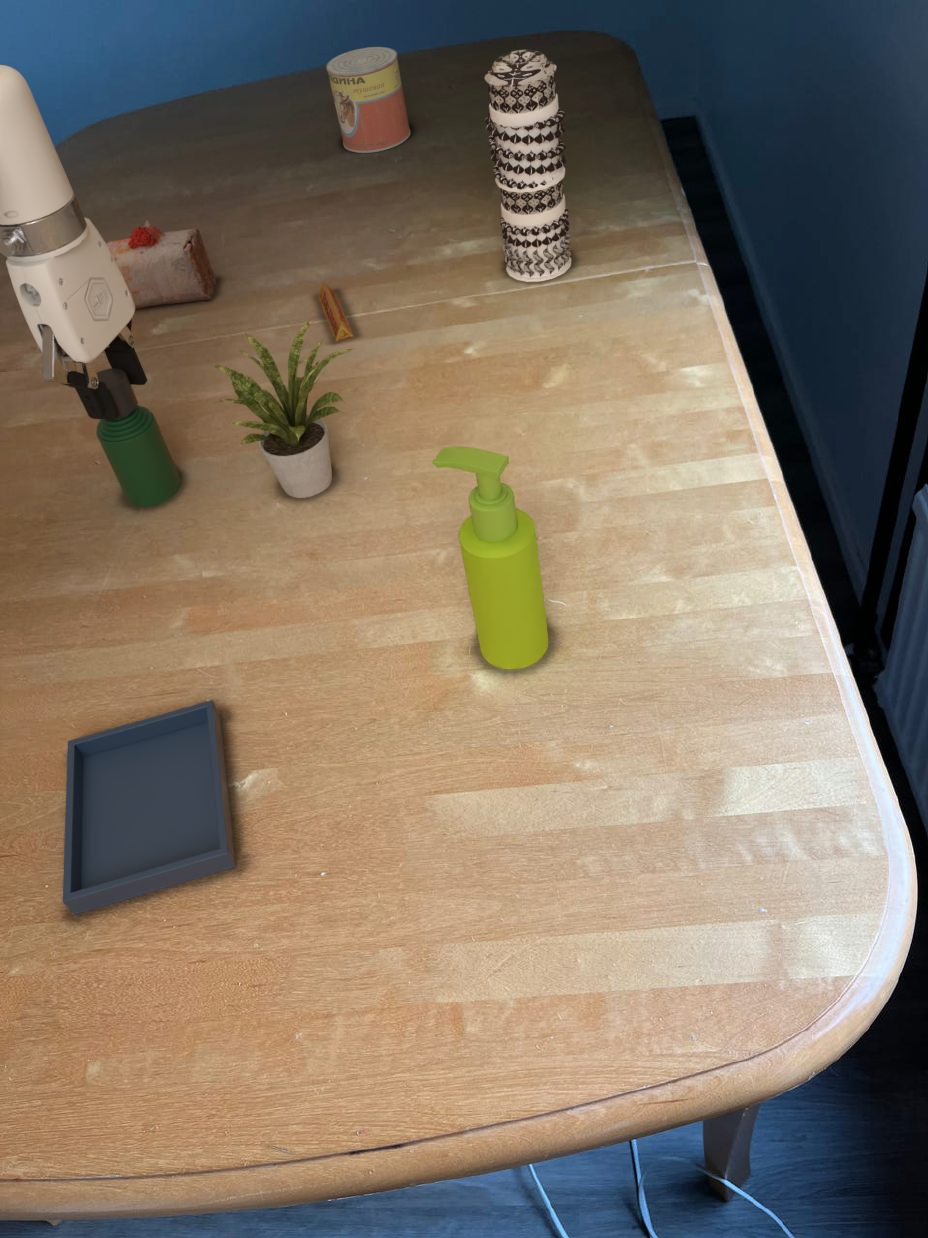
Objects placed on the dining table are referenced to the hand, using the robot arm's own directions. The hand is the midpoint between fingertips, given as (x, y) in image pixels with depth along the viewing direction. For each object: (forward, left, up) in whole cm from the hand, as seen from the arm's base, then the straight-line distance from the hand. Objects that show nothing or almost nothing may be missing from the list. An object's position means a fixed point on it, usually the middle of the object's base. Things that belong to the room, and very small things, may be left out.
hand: (118, 398), depth 102 cm
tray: (+29, -31, -11) cm, 44 cm away
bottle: (0, -1, -11) cm, 11 cm away
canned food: (-30, +84, -12) cm, 90 cm away
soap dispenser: (+46, -4, -12) cm, 48 cm away
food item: (-29, +32, -12) cm, 45 cm away
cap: (0, -1, -1) cm, 1 cm away
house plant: (+16, +8, -12) cm, 21 cm away
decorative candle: (+17, +54, -12) cm, 58 cm away
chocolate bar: (-2, +35, -12) cm, 37 cm away
